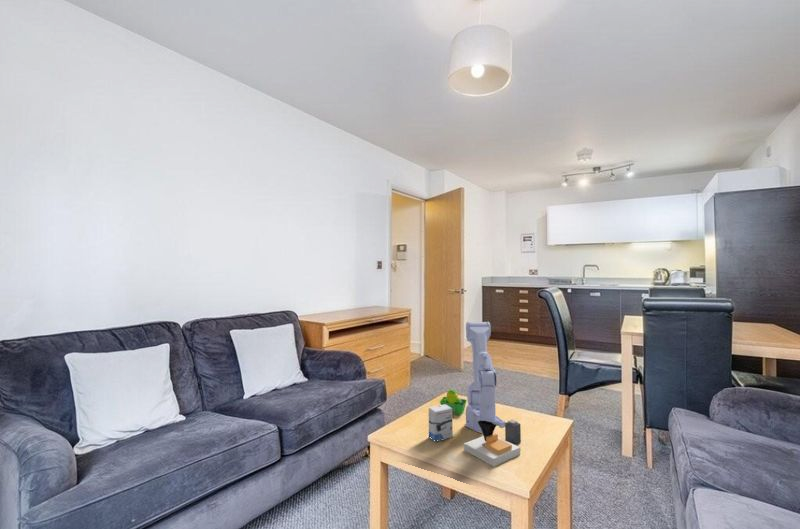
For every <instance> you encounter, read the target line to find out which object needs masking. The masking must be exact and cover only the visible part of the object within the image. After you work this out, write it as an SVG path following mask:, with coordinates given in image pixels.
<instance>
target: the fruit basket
mask: <svg viewBox="0 0 800 529" xmlns="http://www.w3.org/2000/svg"><path fill="white" fill-rule="evenodd" d="M467 402H468V399H465V398H463V399H462V398H459V395H458V393H457V392H456V391H455V390H454V389H452V388H450V389H448V390H447V392H446V396H443V397H442V398H441V399H440V400H439V404H440V405H444V404H446V405H448V406H449V407H451V408H452V414H453V413H457V414H456V415H460V414H461V415H463V413H464V412H465V410H466V404H467Z"/></svg>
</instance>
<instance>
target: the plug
mask: <svg viewBox="0 0 800 529" xmlns="http://www.w3.org/2000/svg"><path fill="white" fill-rule="evenodd" d="M504 428H505V429H504V430H505V431H504V432H505V434H504V435H505V439H504V440H505V441H508V442H510V443H512V444H514V445H517V444H520V443H521V442H522V440H521V439H522V437H521V435H522V434H521V430H522V429H521V428H522V427H521V423H519V422H518V420H514V419H510V420H507V422H506V421H505V427H504Z"/></svg>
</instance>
